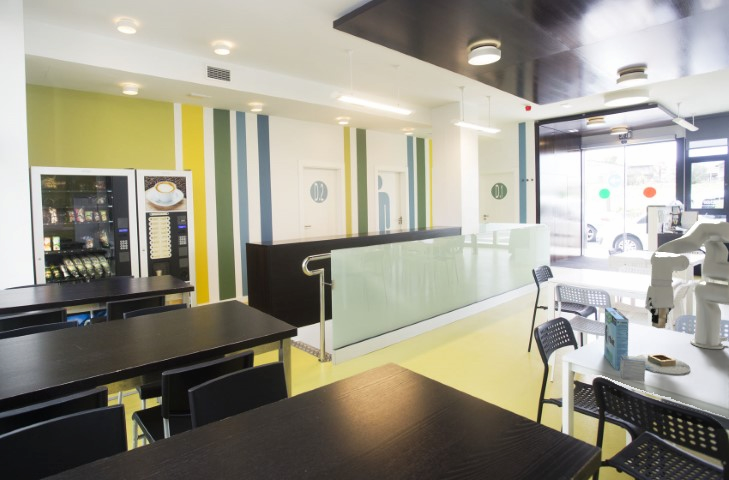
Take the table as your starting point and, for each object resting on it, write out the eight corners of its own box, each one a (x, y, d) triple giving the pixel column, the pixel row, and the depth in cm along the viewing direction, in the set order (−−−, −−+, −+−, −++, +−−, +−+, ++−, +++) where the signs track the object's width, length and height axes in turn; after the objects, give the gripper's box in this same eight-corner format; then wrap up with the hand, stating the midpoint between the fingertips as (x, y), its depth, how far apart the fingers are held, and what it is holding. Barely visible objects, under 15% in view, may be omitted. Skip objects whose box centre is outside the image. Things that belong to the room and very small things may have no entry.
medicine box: (641, 377, 172) (642, 356, 171) (644, 381, 168) (645, 361, 167) (619, 374, 174) (620, 355, 174) (622, 379, 170) (623, 359, 169)
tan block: (659, 325, 189) (660, 304, 188) (665, 327, 185) (666, 306, 184) (651, 325, 189) (653, 304, 187) (658, 328, 185) (659, 306, 184)
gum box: (627, 371, 178) (629, 319, 175) (614, 370, 179) (615, 318, 177) (615, 354, 196) (616, 307, 194) (603, 353, 198) (604, 307, 195)
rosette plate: (662, 355, 194) (662, 347, 194) (702, 372, 174) (702, 364, 174) (623, 358, 191) (624, 351, 191) (660, 376, 172) (660, 368, 171)
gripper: (671, 280, 189) (668, 319, 191) (637, 281, 188) (635, 321, 189) (685, 283, 182) (682, 324, 184) (651, 285, 180) (648, 326, 182)
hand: (659, 322), depth 187 cm, fingers closed on tan block, 3 cm apart
